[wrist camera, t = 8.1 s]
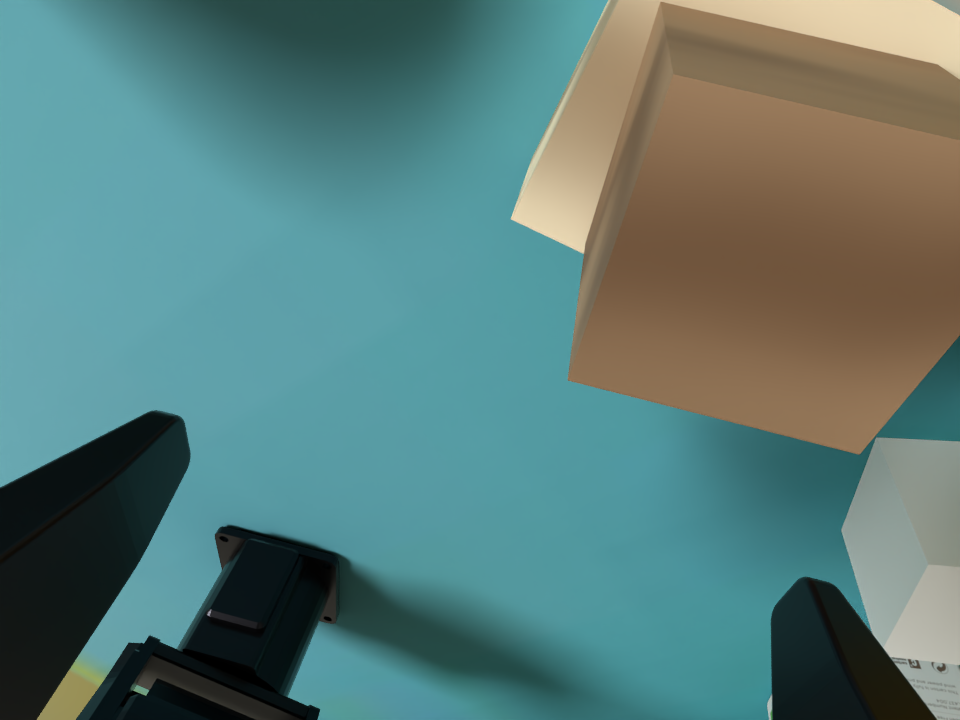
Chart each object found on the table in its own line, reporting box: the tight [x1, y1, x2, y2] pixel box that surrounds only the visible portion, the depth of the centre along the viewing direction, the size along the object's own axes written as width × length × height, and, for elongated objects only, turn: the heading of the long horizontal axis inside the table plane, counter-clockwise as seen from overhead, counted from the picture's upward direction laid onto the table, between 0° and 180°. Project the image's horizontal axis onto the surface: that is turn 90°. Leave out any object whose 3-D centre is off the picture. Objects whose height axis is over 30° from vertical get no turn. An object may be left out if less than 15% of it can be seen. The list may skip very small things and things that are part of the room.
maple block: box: [511, 0, 960, 254], centre depth 14 cm, size 7×7×4 cm
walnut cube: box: [568, 2, 960, 455], centre depth 11 cm, size 5×5×5 cm
